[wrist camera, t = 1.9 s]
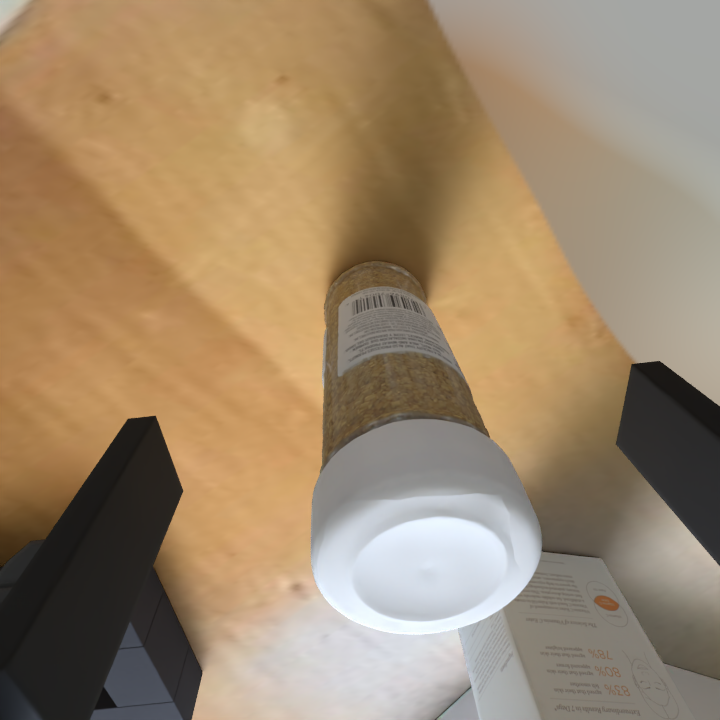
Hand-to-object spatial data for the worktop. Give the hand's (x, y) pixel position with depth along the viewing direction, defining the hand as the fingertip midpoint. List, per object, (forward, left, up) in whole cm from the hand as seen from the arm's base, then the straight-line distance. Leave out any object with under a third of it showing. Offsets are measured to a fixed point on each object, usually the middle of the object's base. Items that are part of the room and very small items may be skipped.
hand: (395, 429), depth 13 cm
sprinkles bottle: (0, 0, -9) cm, 9 cm away
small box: (+20, +8, -9) cm, 23 cm away
